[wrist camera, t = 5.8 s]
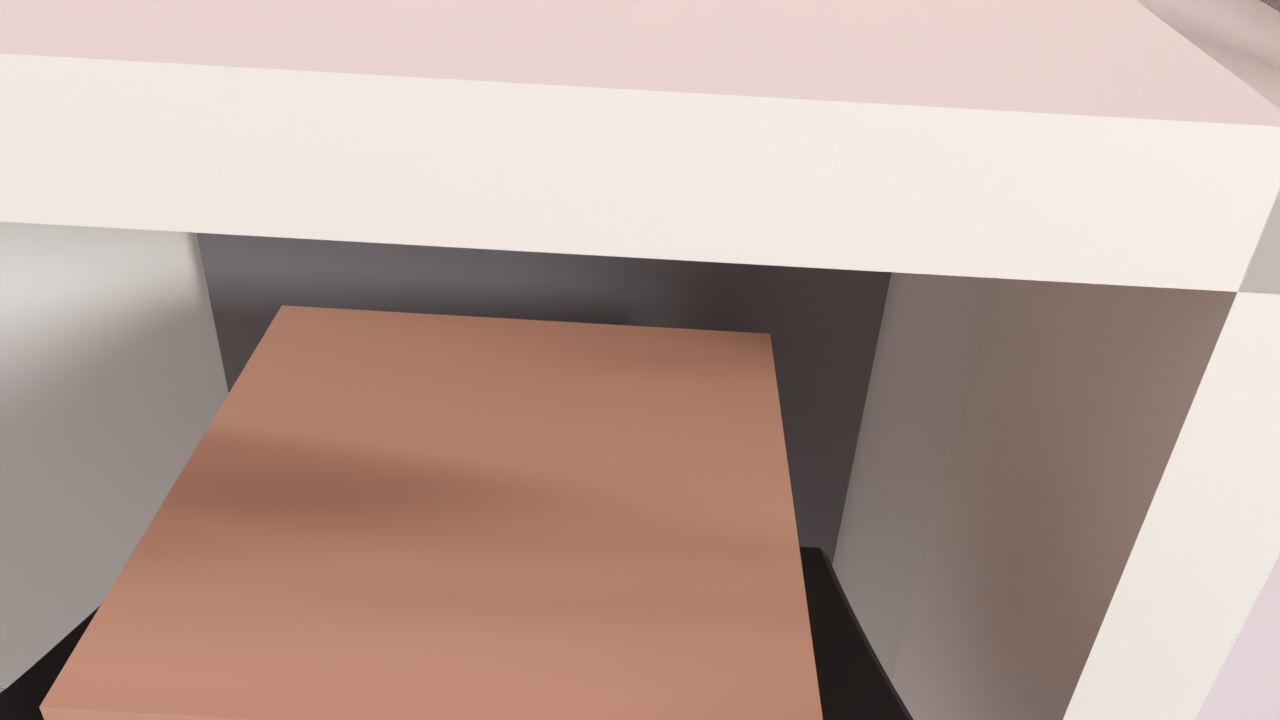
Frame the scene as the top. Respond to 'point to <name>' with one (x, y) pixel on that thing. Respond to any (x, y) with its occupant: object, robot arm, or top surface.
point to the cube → (468, 534)
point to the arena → (701, 280)
